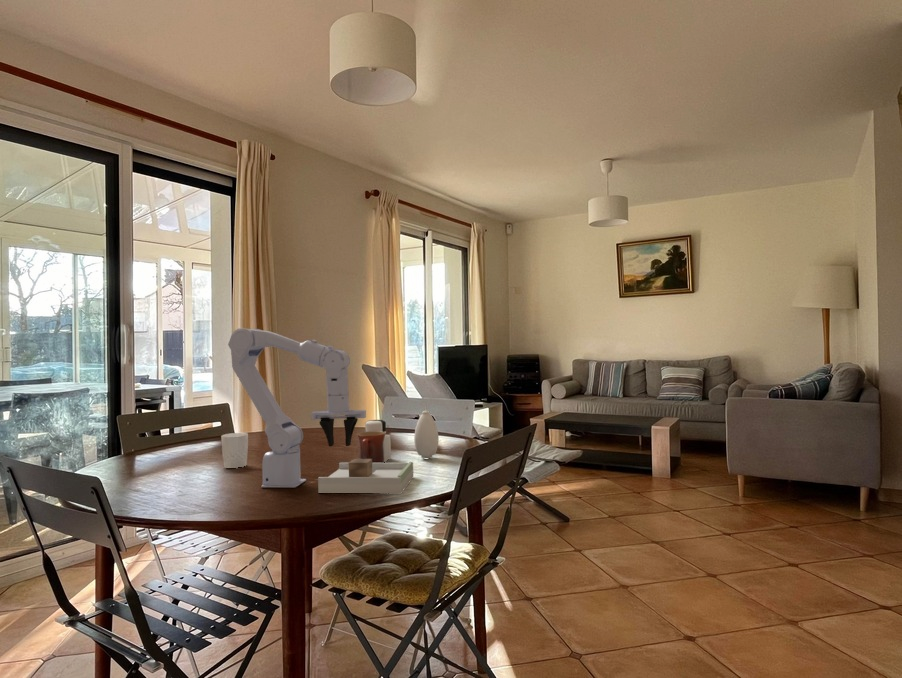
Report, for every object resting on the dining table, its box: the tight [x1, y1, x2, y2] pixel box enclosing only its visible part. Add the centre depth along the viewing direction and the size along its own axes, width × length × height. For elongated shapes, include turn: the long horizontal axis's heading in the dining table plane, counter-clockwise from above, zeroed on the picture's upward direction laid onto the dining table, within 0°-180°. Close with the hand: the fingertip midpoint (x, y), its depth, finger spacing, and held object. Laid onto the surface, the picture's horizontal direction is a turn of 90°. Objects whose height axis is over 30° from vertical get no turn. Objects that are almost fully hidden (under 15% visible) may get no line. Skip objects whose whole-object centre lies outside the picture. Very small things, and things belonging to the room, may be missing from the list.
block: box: [348, 458, 372, 477], centre depth 150 cm, size 5×5×4 cm
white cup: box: [220, 432, 249, 469], centre depth 177 cm, size 8×8×10 cm
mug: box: [356, 431, 387, 463], centre depth 170 cm, size 12×9×10 cm
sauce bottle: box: [413, 403, 440, 459], centre depth 182 cm, size 8×8×18 cm
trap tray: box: [317, 461, 414, 495], centre depth 149 cm, size 21×18×4 cm
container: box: [364, 419, 392, 463], centre depth 181 cm, size 8×8×13 cm
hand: (339, 445), depth 150 cm, fingers open, 4 cm apart
